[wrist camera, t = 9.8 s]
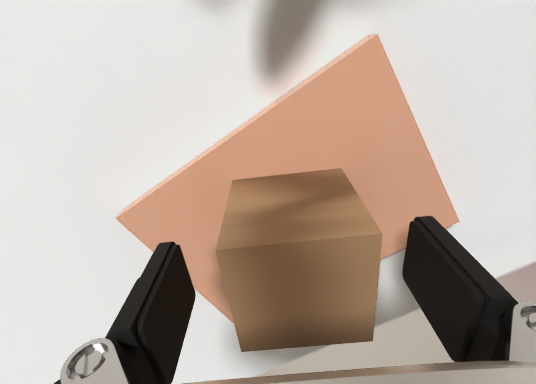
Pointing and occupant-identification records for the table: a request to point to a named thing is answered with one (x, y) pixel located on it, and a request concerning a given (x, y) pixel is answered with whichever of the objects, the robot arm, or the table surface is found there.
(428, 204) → the terracotta tile
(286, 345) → the walnut cube
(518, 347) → the robot arm
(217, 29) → the table surface
